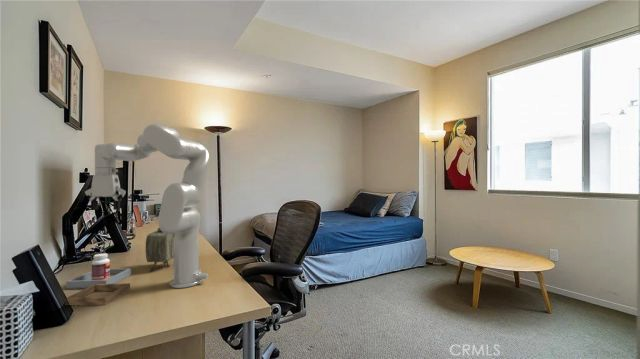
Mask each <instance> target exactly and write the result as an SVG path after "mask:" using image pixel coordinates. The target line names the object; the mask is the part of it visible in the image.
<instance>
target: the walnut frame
mask: <svg viewBox="0 0 640 359" xmlns="http://www.w3.org/2000/svg"><path fill="white" fill-rule="evenodd" d="M130 290H131V283H130V282H128V283H115V284H94V285H92V286H90V287H88V288H86V289H82V290H79V291H78V292H76V293H74V294H71V295H70V296H67V297H66V298H67V299H68V301H69V303H70V304H71V305H72V306H71V307H74V306H73V305H75V307H76V306H77V305H80V306H82V307H83V306H105V305H107V304H109V303H110V302H112V301H114V300H115V299H117V298H119V297H120V296H122V295H124V294H125V293H127V292H129V291H130ZM95 292H111V293H109V294H107V295H105V296H90V294H94V293H95ZM77 307H78V306H77Z"/></svg>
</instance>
